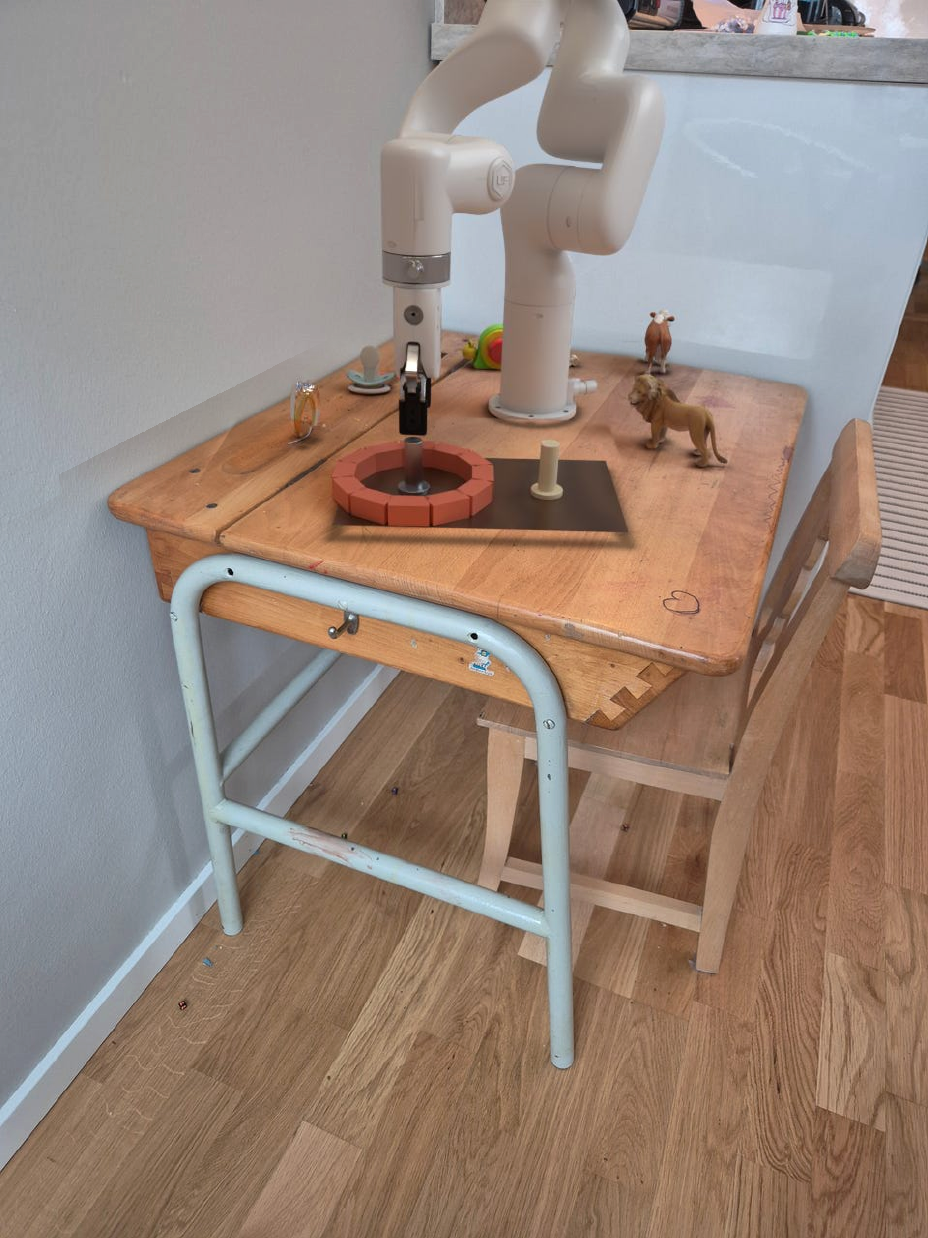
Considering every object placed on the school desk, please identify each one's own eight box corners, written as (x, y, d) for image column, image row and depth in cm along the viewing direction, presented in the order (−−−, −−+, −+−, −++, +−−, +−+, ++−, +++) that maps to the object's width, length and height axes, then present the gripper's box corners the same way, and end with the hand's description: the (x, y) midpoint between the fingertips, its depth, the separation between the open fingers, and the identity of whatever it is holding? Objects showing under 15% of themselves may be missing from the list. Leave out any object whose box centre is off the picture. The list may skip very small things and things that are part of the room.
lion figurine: (615, 442, 114) (623, 375, 109) (636, 432, 118) (645, 366, 113) (717, 473, 106) (731, 402, 102) (736, 460, 110) (750, 391, 105)
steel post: (423, 481, 99) (422, 432, 96) (434, 494, 96) (434, 443, 93) (393, 486, 98) (392, 436, 95) (404, 499, 95) (403, 448, 92)
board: (604, 471, 106) (606, 460, 105) (627, 544, 90) (628, 531, 90) (354, 465, 106) (353, 454, 105) (332, 537, 90) (332, 524, 90)
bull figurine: (668, 356, 148) (676, 307, 144) (666, 380, 137) (674, 328, 133) (643, 354, 149) (649, 305, 144) (638, 377, 138) (645, 325, 133)
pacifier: (390, 397, 128) (396, 383, 133) (389, 356, 124) (395, 343, 129) (342, 395, 128) (350, 381, 133) (339, 353, 125) (347, 341, 130)
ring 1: (306, 451, 110) (301, 390, 105) (284, 448, 110) (278, 387, 106) (331, 433, 115) (327, 374, 111) (310, 430, 116) (305, 371, 112)
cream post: (552, 484, 99) (557, 435, 96) (568, 497, 96) (572, 446, 93) (525, 489, 98) (528, 439, 95) (539, 502, 95) (543, 451, 92)
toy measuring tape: (459, 360, 144) (460, 320, 140) (573, 359, 146) (577, 319, 142) (464, 372, 138) (464, 331, 135) (582, 370, 140) (586, 329, 137)
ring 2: (493, 528, 90) (494, 507, 88) (323, 524, 90) (321, 503, 88) (491, 461, 105) (492, 442, 103) (345, 457, 105) (344, 439, 103)
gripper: (448, 285, 87) (444, 447, 96) (452, 255, 101) (448, 398, 110) (374, 282, 86) (377, 445, 96) (388, 253, 101) (390, 396, 110)
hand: (415, 420), depth 103 cm, fingers open, 9 cm apart
